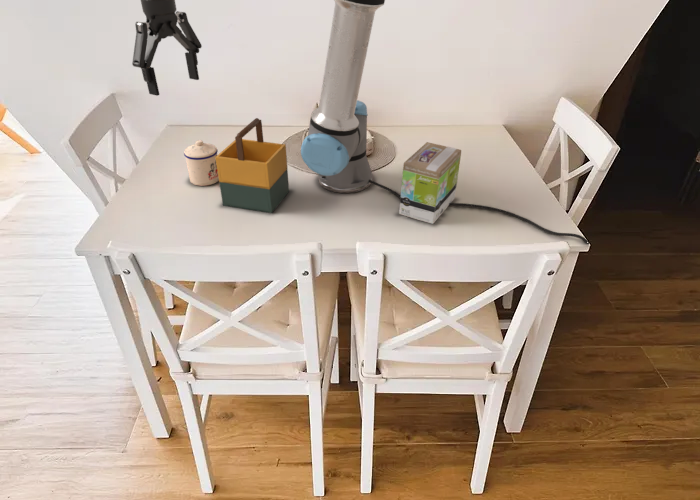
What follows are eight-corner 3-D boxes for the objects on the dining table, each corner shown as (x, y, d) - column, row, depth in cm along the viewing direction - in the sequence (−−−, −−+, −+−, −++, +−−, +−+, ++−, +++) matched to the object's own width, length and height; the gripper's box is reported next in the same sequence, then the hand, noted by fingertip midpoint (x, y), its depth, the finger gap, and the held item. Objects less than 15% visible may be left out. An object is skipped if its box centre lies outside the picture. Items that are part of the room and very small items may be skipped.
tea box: (434, 225, 134) (440, 171, 125) (398, 215, 138) (401, 162, 129) (455, 199, 145) (462, 148, 136) (421, 190, 149) (425, 140, 140)
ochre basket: (287, 168, 144) (283, 119, 136) (269, 189, 135) (264, 138, 127) (240, 162, 147) (233, 114, 140) (219, 182, 138) (211, 131, 130)
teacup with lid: (215, 187, 150) (209, 148, 143) (184, 185, 151) (176, 147, 144) (228, 168, 160) (223, 131, 153) (199, 166, 161) (192, 129, 154)
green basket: (289, 191, 148) (287, 168, 144) (271, 213, 139) (269, 189, 135) (242, 184, 151) (239, 162, 147) (222, 205, 142) (219, 182, 138)
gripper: (184, -16, 134) (199, 71, 146) (100, 2, 116) (125, 98, 128) (206, -13, 131) (220, 75, 143) (124, 5, 113) (147, 104, 125)
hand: (175, 86), depth 136 cm, fingers open, 13 cm apart
